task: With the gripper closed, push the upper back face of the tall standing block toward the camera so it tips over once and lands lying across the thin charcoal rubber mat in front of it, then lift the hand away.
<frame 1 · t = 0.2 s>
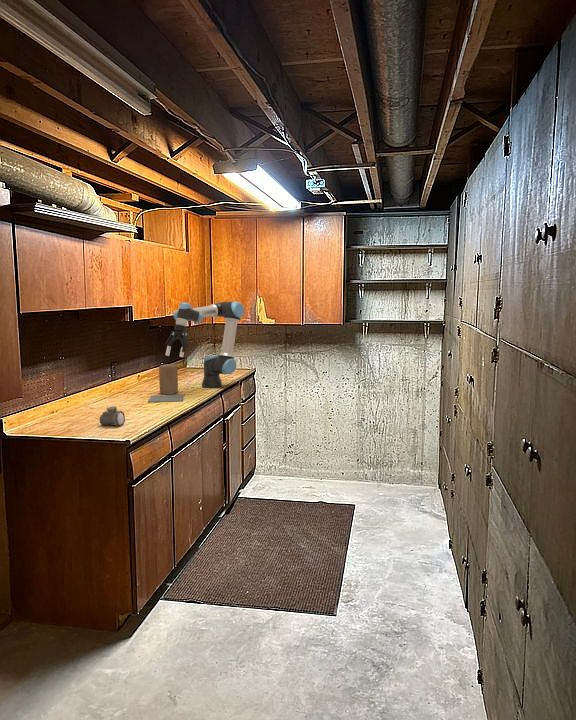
hand: (174, 356, 367), 28 cm above the table, fingers open, 13 cm apart
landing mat: (166, 398, 366), on the table
pipe fitting: (111, 425, 291), on the table
block: (169, 393, 387), on the table
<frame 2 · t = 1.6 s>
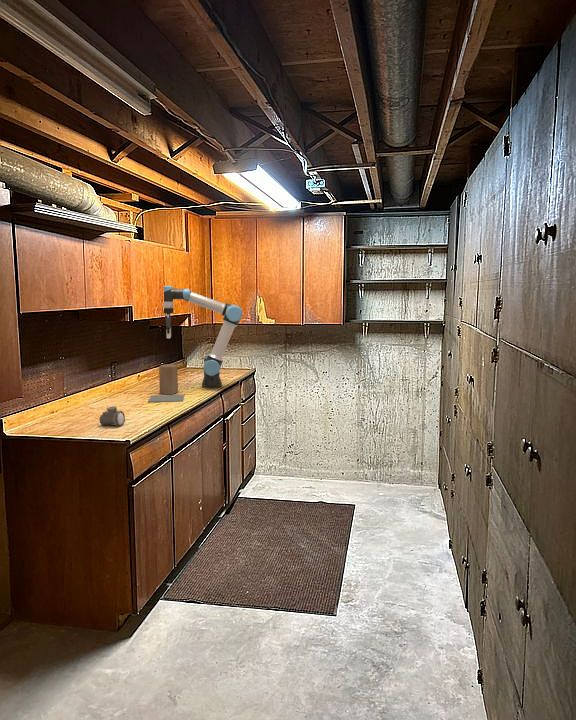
hand: (168, 337, 395), 38 cm above the table, fingers open, 13 cm apart
nothing on the table moved.
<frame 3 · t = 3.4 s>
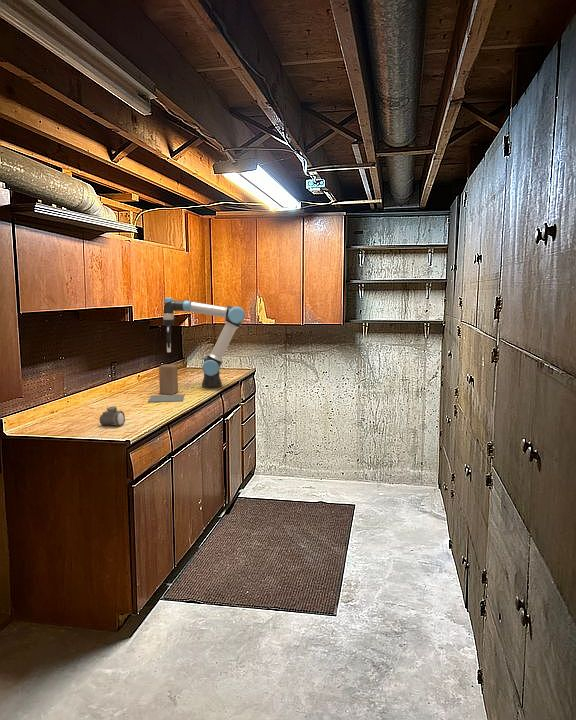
hand: (168, 352, 398), 28 cm above the table, fingers closed
nothing on the table moved.
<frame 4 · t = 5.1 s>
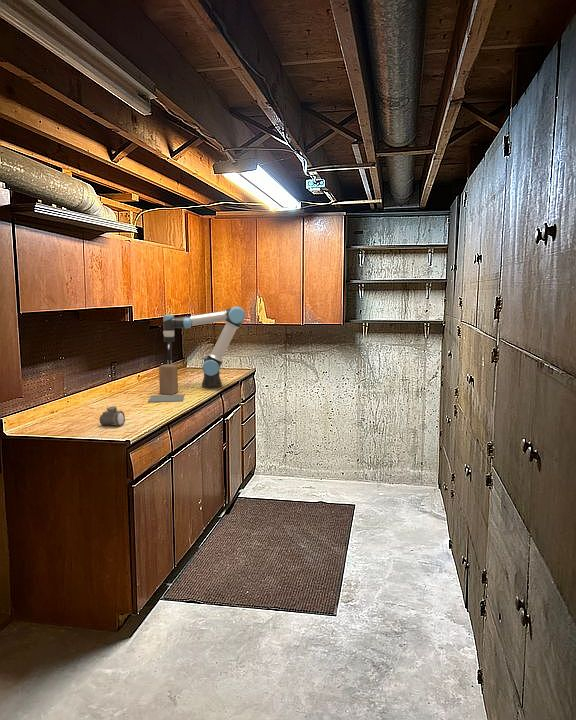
hand: (169, 368, 399), 15 cm above the table, fingers closed
nothing on the table moved.
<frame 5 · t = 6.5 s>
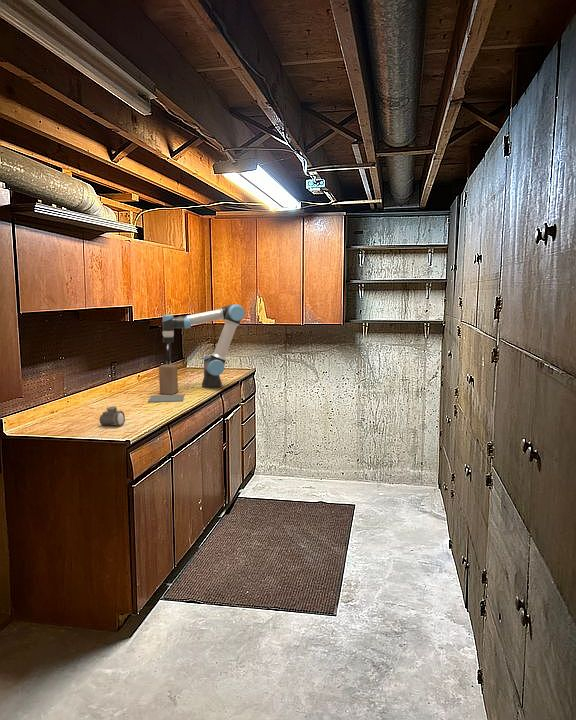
hand: (168, 369, 392), 16 cm above the table, fingers closed
block: (169, 393, 387), on the table, touching gripper
everything else where it was.
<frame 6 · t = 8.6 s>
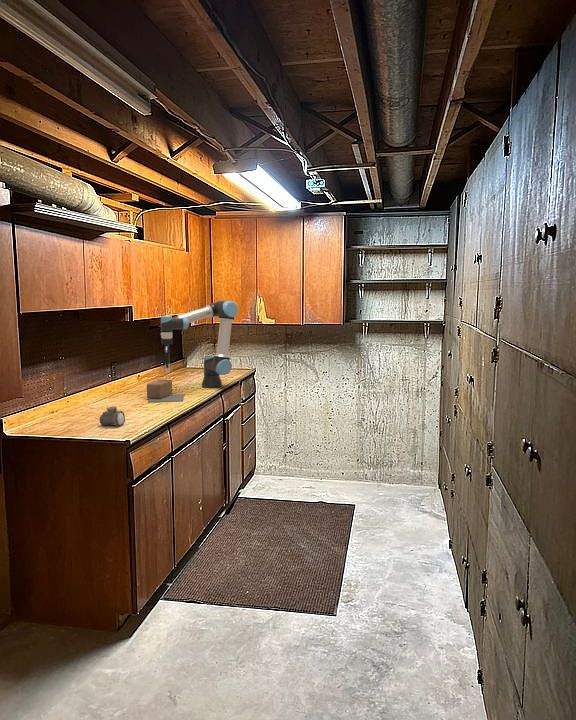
hand: (167, 372, 379), 16 cm above the table, fingers closed
block: (166, 386, 382), point 6 cm above the table, touching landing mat
everything else where it was.
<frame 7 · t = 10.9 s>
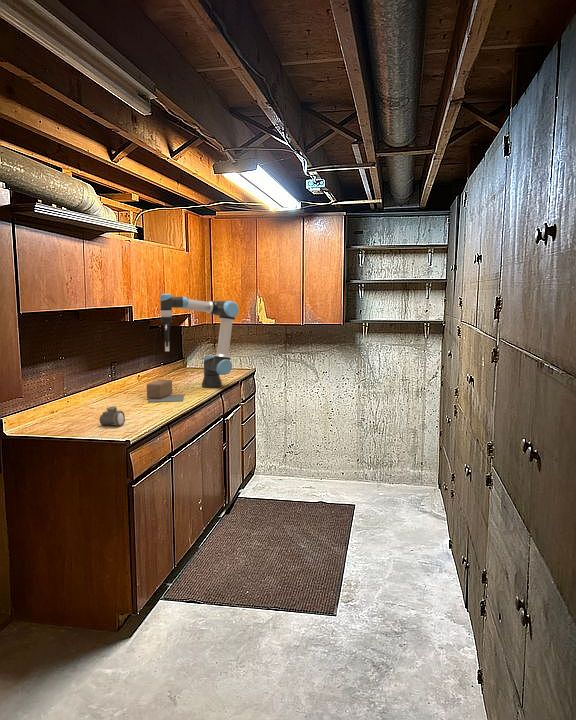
hand: (167, 351, 377), 30 cm above the table, fingers closed
nothing on the table moved.
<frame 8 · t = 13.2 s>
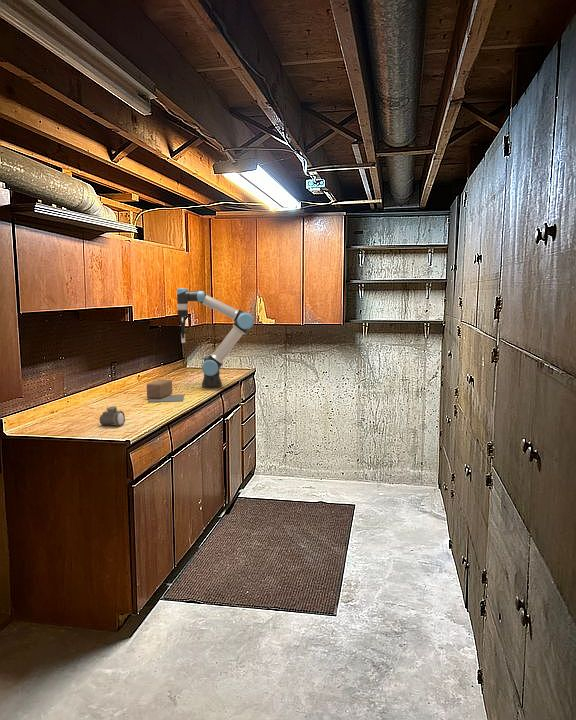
hand: (183, 342, 398), 34 cm above the table, fingers closed
nothing on the table moved.
at the end: block tilted 90°; block touching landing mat; block inside the target area (2.4 cm from its centre), point 5.6 cm above the table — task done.
